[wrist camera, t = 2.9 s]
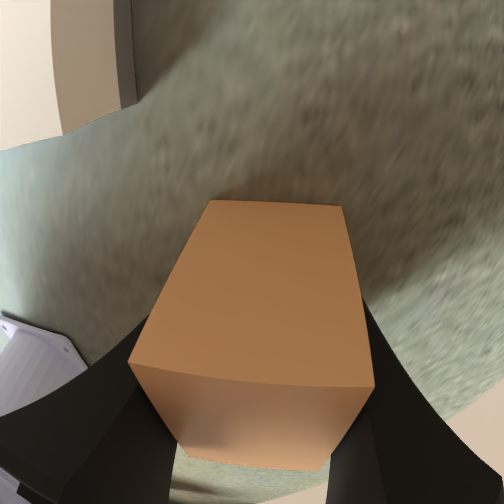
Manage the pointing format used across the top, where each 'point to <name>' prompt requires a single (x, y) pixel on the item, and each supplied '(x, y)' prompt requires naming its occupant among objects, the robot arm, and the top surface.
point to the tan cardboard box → (259, 337)
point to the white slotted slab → (62, 66)
